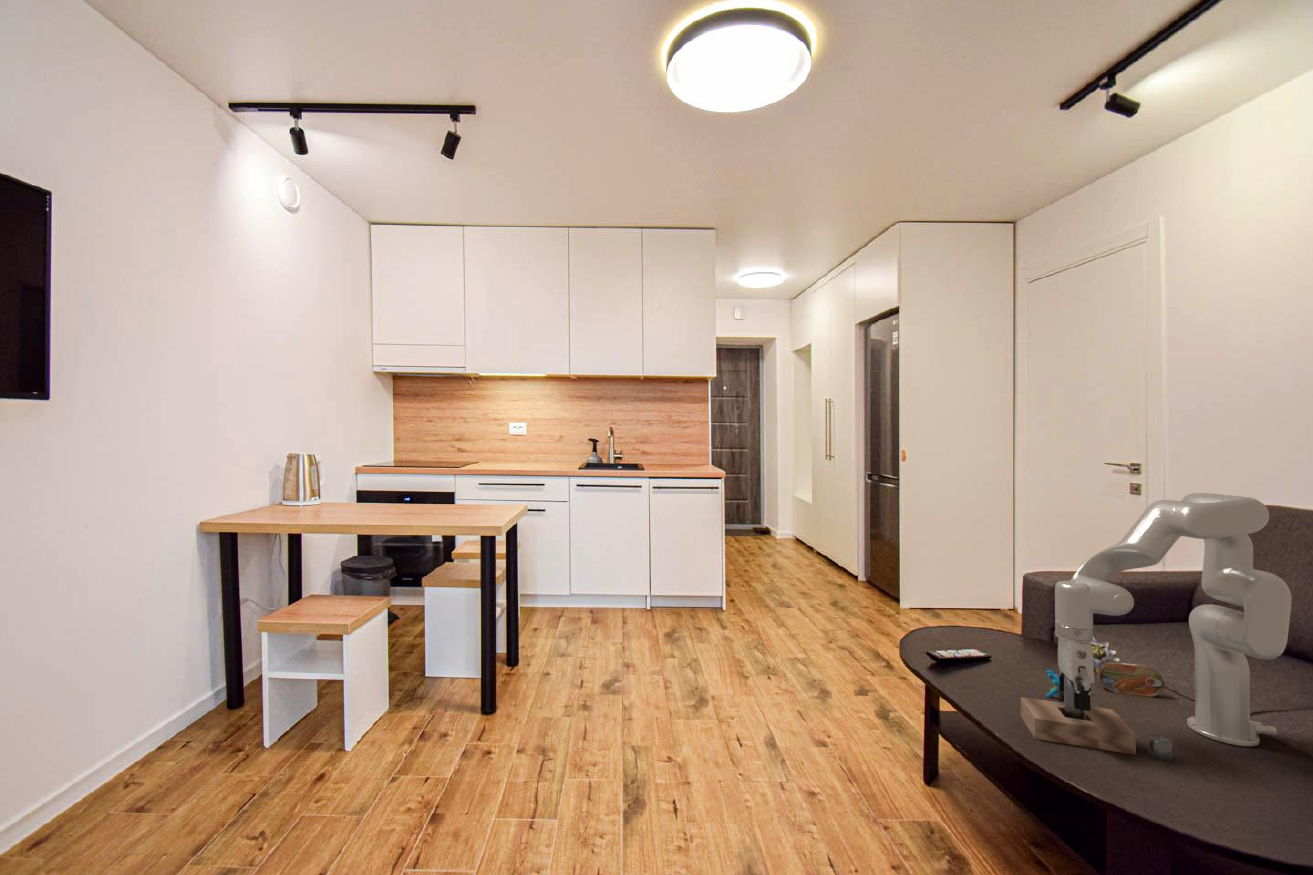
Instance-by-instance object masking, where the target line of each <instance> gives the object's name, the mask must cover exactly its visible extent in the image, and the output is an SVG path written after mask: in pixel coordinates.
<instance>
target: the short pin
mask: <svg viewBox="0 0 1313 875" xmlns="http://www.w3.org/2000/svg"><path fill="white" fill-rule="evenodd" d="M1148 755H1149V756H1150V757H1152V758H1153V759H1155V760H1158V761H1160V762H1165V763H1166V762H1167V763H1170V762H1173V742H1172V740H1170V739H1169V738H1166V737H1164V736H1161V735H1156V734H1150V735H1148Z"/></svg>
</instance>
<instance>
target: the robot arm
mask: <svg viewBox="0 0 1313 875" xmlns="http://www.w3.org/2000/svg"><path fill="white" fill-rule="evenodd" d="M1269 519H1270V512H1269V509H1268V508H1267V506H1266V505H1265V504H1264V503H1263V502H1261V501H1260V500H1258V499H1256V498H1252V497H1248V496H1241V495H1240V496H1239V495H1229V494H1221V493H1220V494H1219V493H1211V492H1210V493H1208V492H1196V493H1195V492H1194V493H1190V494H1187V495H1185V496H1184V497H1183V498H1182V499H1181V500H1175V499H1162V500H1161V499H1160V500H1156V501H1154V502H1152V503H1151V504H1150V505H1148V507H1146V509H1145V510H1144V511H1143V513H1142V514H1141V515H1140V516H1139V517H1138V519H1137V520H1136V521H1135V522H1134V524H1133V525H1132V527H1130V529H1129V530H1128V532H1126V533H1125V535H1124V536H1123V537H1122V539H1121V540H1120V541H1119V542H1117V543H1116V544H1114V545H1111V546H1109V547H1107V548H1104V549H1103V550H1101V551H1099V552H1097V553H1095V554H1094V555H1092V556H1090V557H1089V558H1088V559H1086V560H1084V562H1082V564H1081V565H1080V566H1079V568H1078V569H1077V571H1076V572H1075V573H1074V574H1073V575H1072V577H1071V579H1070V580H1059V581H1057V582H1056V583H1055V585H1054V616H1055V617H1054V620H1055V622H1054V631H1055V633H1054V634H1055V635H1054V636H1056V637H1057V638H1058V639H1057V640H1058V642H1057V665H1058V668H1059V669H1058V674H1059V675H1058V676H1059V690H1060V691H1061V692H1060V693H1062V692H1064V675H1065V676H1066V677H1067V678H1068V679H1069V680H1071V681H1072V682H1073V683H1074V687H1075V692H1074V708H1075V709H1077V710H1085V711H1090V710H1091V709H1090V707H1091V696H1092V693H1091V690H1092V688H1091V685H1094V684H1095V683H1096V681H1095V670H1094V662H1093V653H1092V647H1091V642H1093V637H1094V630H1093V629H1094V616H1093V615H1094V614H1099V615H1106V616H1115V617H1116V616H1124V615H1126V614H1128V613H1130V612H1131V611H1133V610H1132V609H1133V608H1134V605H1135V600H1134V597H1133V595H1132V594H1131V592H1129V591H1128V590H1127V589H1126V588H1125V587H1122V586H1120V585H1117V584H1114V583H1110V582H1107V581H1108V580H1109V579H1110V578H1112V577H1113V576H1114V575H1118V573H1122V572H1125V571H1128V570H1134V569H1141V568H1147V567H1153V566H1155V565H1158V564H1159V563H1160V562H1161V561H1162V560H1163V558H1164V557H1165V556H1166V555H1167V553H1168V552H1169V551H1170V550H1171V548H1172V547H1173V545H1175V543H1177V541H1178V540H1179V539H1180V537H1184V538H1185V537H1186V538H1193V539H1196V540H1197V539H1199V540H1203V543H1204V549H1203V550H1204V552H1203V564H1202V569H1201V571H1202V573H1201V589H1202V590H1203V592H1204V593H1205V594H1206V595H1207V596H1208V597H1210V598H1212V599H1214V600H1218V601H1220V602H1225V603H1228V604H1231V605H1235V606H1238V607H1242V608H1243V611H1244V612H1243V611H1240V610H1238V609H1237V610H1236V609H1233V608H1229V607H1227V606H1222V605H1219V604H1201V605H1198V606H1196V607H1195V608H1193V609H1192V610H1191V612H1190V613H1189V616H1188V626H1189V630H1190V633H1191V637H1192V640H1193V641H1192V642H1193V647H1194V648H1193V649H1194V703H1195V704H1194V706H1195V710H1194V711H1195V712H1194V713H1195V716H1189V717H1188V718H1187V719H1186V724H1187V727H1189V728H1190V729H1191V730H1192V731H1193V732H1196V733H1198V734H1199V735H1202V736H1204V737H1205V738H1209V739H1211V740H1215V741H1218V742H1220V743H1224V744H1230V745H1233V746H1239V747H1240V746H1241V747H1255V746H1258V745H1259V744H1260V741H1261V740H1260V737H1259V736H1258V735H1261V734H1265V735H1272V736H1277V735H1278V730H1277V728H1276V727H1275V726H1270V725H1263V723H1262V722H1261V721H1254V720H1251V704H1250V703H1251V702H1250V698H1251V697H1250V690H1251V689H1250V685H1251V684H1250V667H1249V663H1248V660H1247V657H1246V656H1248V657H1252V658H1255V659H1259V660H1274V659H1277V658H1278V657H1281V655H1282V654H1283V653H1284V652H1285V649H1286V647H1287V644H1288V639H1289V638H1288V637H1289V629H1290V620H1291V611H1292V594H1291V593H1292V592H1291V590H1290V588H1289V586H1288V584H1287V583H1286V582H1285V580H1284V579H1282V578H1281V577H1280V576H1278V575H1277V574H1275V573H1271V572H1268V571H1264V570H1260V569H1255V568H1254V546H1253V545H1254V544H1253V543H1252V540H1251V537H1250V536H1249V534H1253V533H1256V532H1258V531H1260V530H1262V529H1263V528H1264V527H1265V526H1266V525H1267V524H1268V522H1269ZM1076 678H1077V679H1076ZM1078 679H1082V680H1078ZM1078 684H1083V685H1080V687H1079V686H1078Z"/></svg>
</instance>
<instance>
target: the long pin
mask: <svg viewBox="0 0 1313 875" xmlns="http://www.w3.org/2000/svg"><path fill="white" fill-rule="evenodd" d="M1076 679H1077V678H1076ZM1078 680H1082V679H1078ZM1080 685H1083V684H1078V686H1079V687H1080ZM1074 692H1075V687H1074V683H1073V682H1072V681H1071V680H1069V679H1068V678H1067V677H1066V676H1065V675H1064V693H1063V696H1064V697H1063V699H1064V700H1063V703H1064V717H1066V718H1073V719H1080V720H1084V710H1077V709H1075V708H1074Z"/></svg>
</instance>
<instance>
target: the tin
mask: <svg viewBox="0 0 1313 875" xmlns="http://www.w3.org/2000/svg"><path fill="white" fill-rule="evenodd" d="M1096 674H1097V675H1096V676H1097V678H1098V680H1099V682H1100V684H1102V686H1103V687H1105V689H1107V690H1109V691H1110V692H1113V693H1116V694H1117V693H1118V694H1123V695H1130V696H1131V695H1132V696H1138V697H1139V696H1141V697H1147V698H1152V697H1157V696H1159V695H1160V694H1162V692H1163V691H1164V689H1165V680H1164V677H1163V676H1162V675H1161V674H1160V672H1158V671H1157V670H1155V669H1154V668H1152V667H1150V666H1148V665H1144V664H1136V663H1126V662H1119V661H1118V662H1106V663H1103V664H1102V665H1100V667H1099V668H1098V671H1097V672H1096Z"/></svg>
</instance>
